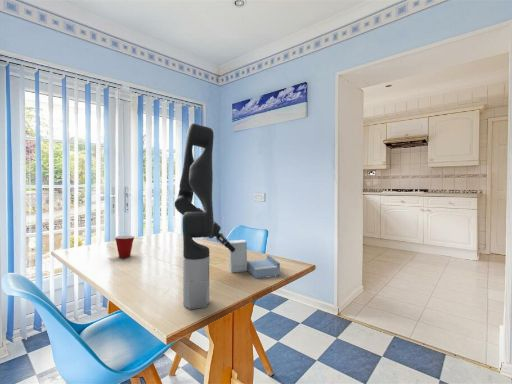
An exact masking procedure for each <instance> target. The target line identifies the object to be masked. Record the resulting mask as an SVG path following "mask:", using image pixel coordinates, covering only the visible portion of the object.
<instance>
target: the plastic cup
mask: <svg viewBox="0 0 512 384" xmlns="http://www.w3.org/2000/svg"><path fill="white" fill-rule="evenodd" d="M135 238H136V236H135V235H130V234H129V235H128V234H126V235H117V236H114V239H115V243H116V249H117V253H118V257H119V258H121V259H124V258H129V257H130V256H131V254H132V248H133V243H134V239H135Z"/></svg>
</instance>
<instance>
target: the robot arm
mask: <svg viewBox="0 0 512 384" xmlns="http://www.w3.org/2000/svg"><path fill="white" fill-rule="evenodd" d="M214 134H215V133H214V131H213V129H212V128H211V127H209V126H204V125H200V124H198V123H191V124H190V125H189V126H188V129H187V132H186V136H185V137H186V138H185V147H184V155H183V166H182V172H181V177H180V182H179V186H178V187H179V190H178V195H177V198H176V199H175V201H174V207H175V209H176V211H177V212H178V213H180V214H181V215H182V241H183V245H182V246H183V247H182V248H183V252H182V253H183V254H182V256H183V257H182V259H183V261H182V263H183V265H182V266H183V267H182V270H183V273H182V274H183V277H182V278H183V284H182V286H183V287H182V290H183V291H182V293H183V299H182V300H183V302H182V303H183V306H184V307H185V308H187V309H188V310H196V309H203V308H207V307H208V305H209V303H210V253H211V252H210V248H209V247H208V246H207V245H204V244H201V243H199V242H197V241H195V240H194V238H195V239H197V238H198V239H200V238H209V239H211V240H212V239H213V238H214V237H215V240H216V241H217V242H219V243H220V244H221V245H222V246H224V247H225V248H226V249H228V251H229V250H230V251H231V252H234V251H235V248H234V247H233V246H232V245H231V244H230V243H229V240H228V239H227V238H226V236H225V235H224V233H222V232H220V231H221V229H222V227H221V226H220V225H219V224H218V223H217V222H216V221H215V219H214V208H213V184H214V183H213V182H214V181H213V179H214V178H213V174H214V173H213V149H214V147H213V146H214V137H215V136H214ZM193 146H195V147H199V148H203V151H202V152H201V154H200V155H199V156H198V157H197V158H196V159H195V158H194V155H193V154H194V153H193V148H194V147H193ZM194 194H195V195H196V197H197V198H198V200H199V201H200V203H201V205H202V208H203V209H201V208H200V207H197V206H195V204H193V200H194V199H193V198H194Z"/></svg>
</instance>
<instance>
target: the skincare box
mask: <svg viewBox="0 0 512 384" xmlns="http://www.w3.org/2000/svg"><path fill="white" fill-rule="evenodd" d="M228 242H229V243H230V244H231V245H232V246H233V247H234V248H235V251H234V252H231V251H230V250H229V249H228V259H229V261H228V263H229V266H228V267H229V270H230V272H231V273H232V272H233V273H239V272H240V273H242V272H247V271H248V269H247V261H248V251H247V250H248V247H247V246H248V243H247V241H246V240H245V239H238V240H237V239H236V240H235V239H233V240H228ZM231 273H230V274H231Z"/></svg>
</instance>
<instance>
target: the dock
mask: <svg viewBox="0 0 512 384" xmlns="http://www.w3.org/2000/svg"><path fill="white" fill-rule="evenodd" d="M280 264H281V263H280V262H279V261H277V260H276V259H275V258H273V257H272V256H271V255H269V254H267V255H266V259H265V258H264V259H255V260H247V271H248V270H249V271H248V272H249V273H250V274H251V275H252V277H254V279H261V277H265V278H268V277H267V276H274V277H276V276H275V275H280V273H281V271H280V269H281V268H280V267H281V265H280Z"/></svg>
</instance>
